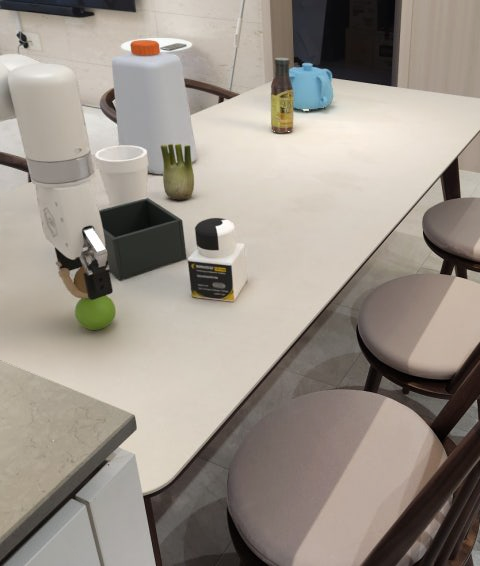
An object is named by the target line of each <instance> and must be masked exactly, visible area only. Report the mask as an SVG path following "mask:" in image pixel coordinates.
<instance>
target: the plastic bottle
mask: <svg viewBox="0 0 480 566" xmlns="http://www.w3.org/2000/svg"><path fill="white" fill-rule="evenodd" d="M129 46H130V52H127V53H123V54H121V55H117V56H115V57H114V58H113V59H112V61H111V68H112V81H113V92H114V93H113V94H114V104H115V114H116V116H115V117H116V125H117V126H116V128H117V138H118V146H120V145H131V146H138V147H142V148H144V149H146V150H147V157H148V166H147V168H148V173H149V174H154V175H163V171H164V163H163V156H162V151H161V145H167V148H168V144H173V149H174V154H175V159H176V163H177V156H176V150H175V144H181V147H182V154H183V160H184V145H190V149H191V162H192V163H193V162H195V161H196V160H197V157H198V153H197V145H196V143H195V142H196V139H195V135H194V129H193V124H192V117H191V112H190V107H189V100H188V95H187V94H188V93H187V89H186V83H185V76H184V71H183V66H182V60H181V58H180V57H179V56H178V55H177V54H174V53H170V52H169V53H168V52H162V51H161V48H160V44H159V42H158V41H157V40H151V39H138V40H133V41H131V42H130V45H129ZM168 153H169V148H168ZM184 162H185V160H184Z"/></svg>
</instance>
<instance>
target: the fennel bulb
mask: <svg viewBox="0 0 480 566" xmlns="http://www.w3.org/2000/svg"><path fill="white" fill-rule="evenodd" d="M168 148H169V153H168ZM168 148H167V145H161V151H162V156H163V163H164V171H163V174H162V180H163V182H162V183H163V189H164V193H165V195H166V196H167V197H169V198H171V199H173V200H180V201H181V200H182V201H184V200H187V199H189V198H191V197H192V196H193V194H194V193H193V192H194V188H195V175H194V169H193V162H191V149H190V145H184V160H185V162H184V160H183V154H182V147H181V144H175V150H176V156H177V163H176V159H175V154H174V149H173V144H168Z"/></svg>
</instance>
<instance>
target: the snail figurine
mask: <svg viewBox="0 0 480 566" xmlns="http://www.w3.org/2000/svg"><path fill="white" fill-rule="evenodd" d="M55 265H56V266H57V267H58V268H57V269H58V275H59V278H61V280H62V283H63V284H64V286H65V288H66V289H67V291H68V292H69V293H70V294H71V295H72V296H73V297H75V298H77V299H79V300H78V301H77V303H76V305H75V307H74V316H75V319H76V321H77V322H78V324H79V325H80V326H82V327H83V328H85V329H87V330H91V331H100V330H104V329H105V328H107V327H108V326H110V325H111V323H112V322H113V321H114V319H115V317H116V313H117V312H116V310H117V309H116V305H115V303H114V301H113V300H112V299H111V298H110V297H109V296H108V295H106V296H103V297H100V298H97V299H94V300H91V299H89V298H88V294H87V289H86V285H85V280H84V275H83V273H86V271H85V269H84V267H83V266H82V267H81V268H78V269H77V270H76V272H75V273H74V276H73V279H72V277H71V275H70V274H71V271H69V270H68V269H67V268H62V269H59V267H61V266H62V264H61V263H60V262H59V261H58V260H56V262H55Z"/></svg>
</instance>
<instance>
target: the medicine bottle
mask: <svg viewBox="0 0 480 566" xmlns="http://www.w3.org/2000/svg"><path fill="white" fill-rule="evenodd" d="M194 234H195V243H196V248H195V250H194V251H193V252H192V254H191V255H189V257H188V258H187V265H188V267H187V268H188V275H189V282H190V283H189V284H190V292H191V296H192V298H198V299H204V300H205V299H206V300H214V301H223V302H231V303H233V302H235V301H236V299H237V298H238V296H239V294H240V293H241V291H242V289H243V288H244V287H245V286H244V285H246V284H247V282H248V275H247V274H248V273H247V272H248V271H247V257H246V244H244V243H241V242H240V243H239V242H236V241H237V240H236V228H235V224H234V223H233V222H232V221H231V220H229V219H226V218H223V217H211V218H210V217H209V218H207V219H203V220H201V221H199V222H198V223H197V224H196V225H195V226H194Z"/></svg>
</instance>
